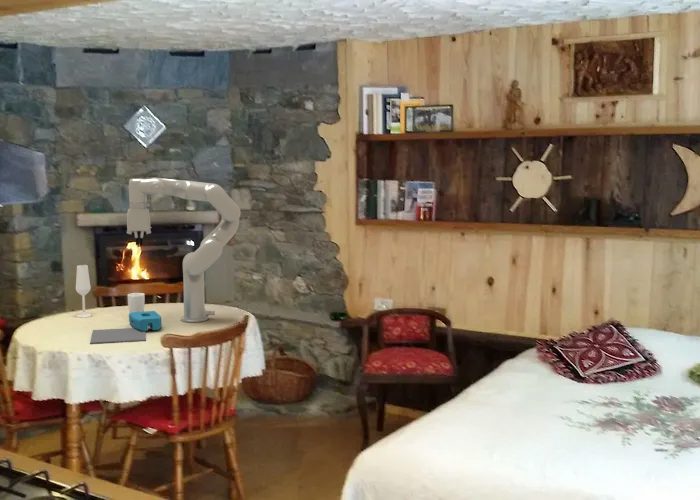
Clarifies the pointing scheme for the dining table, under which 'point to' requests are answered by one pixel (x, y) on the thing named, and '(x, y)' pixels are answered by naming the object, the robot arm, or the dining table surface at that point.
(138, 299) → the white cup
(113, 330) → the gray square mat
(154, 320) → the block
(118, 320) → the dining table surface
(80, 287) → the champagne flute
